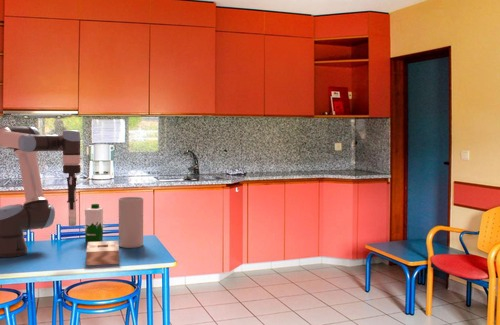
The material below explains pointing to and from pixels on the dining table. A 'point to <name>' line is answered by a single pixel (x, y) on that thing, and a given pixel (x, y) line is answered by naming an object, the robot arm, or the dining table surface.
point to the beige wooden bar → (73, 219)
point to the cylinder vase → (130, 222)
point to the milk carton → (94, 223)
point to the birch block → (102, 253)
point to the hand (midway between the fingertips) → (72, 215)
